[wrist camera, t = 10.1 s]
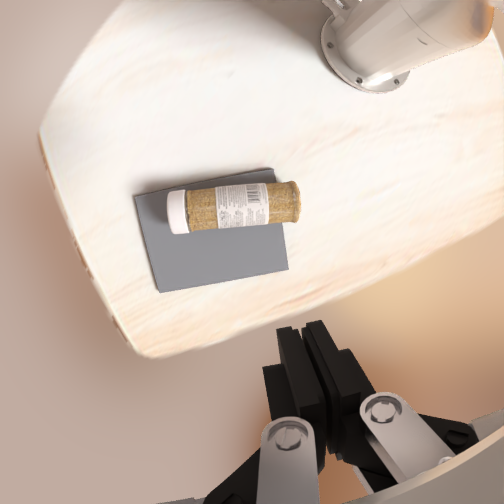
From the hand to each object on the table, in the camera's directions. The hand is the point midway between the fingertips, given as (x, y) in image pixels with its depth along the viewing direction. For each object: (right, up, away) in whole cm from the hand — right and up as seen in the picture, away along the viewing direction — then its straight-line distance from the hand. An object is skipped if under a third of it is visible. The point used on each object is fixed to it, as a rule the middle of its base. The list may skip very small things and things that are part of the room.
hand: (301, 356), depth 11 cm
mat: (-6, +6, +24) cm, 25 cm away
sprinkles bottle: (+3, +9, +21) cm, 23 cm away
